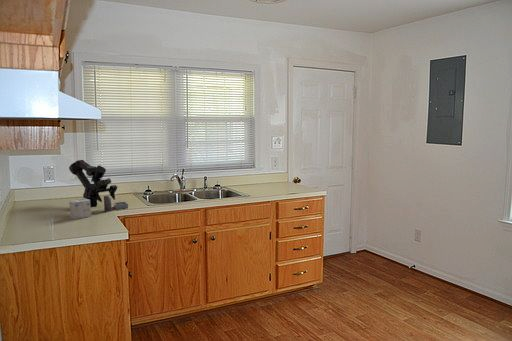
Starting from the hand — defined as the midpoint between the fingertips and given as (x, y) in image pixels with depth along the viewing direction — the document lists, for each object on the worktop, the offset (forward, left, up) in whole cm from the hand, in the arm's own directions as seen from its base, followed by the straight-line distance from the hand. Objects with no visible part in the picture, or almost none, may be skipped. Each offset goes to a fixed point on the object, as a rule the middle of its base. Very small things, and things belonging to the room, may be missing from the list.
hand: (108, 200), depth 267 cm
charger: (0, +1, -7) cm, 7 cm away
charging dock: (+9, +7, -7) cm, 13 cm away
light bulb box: (-17, -9, -7) cm, 21 cm away
